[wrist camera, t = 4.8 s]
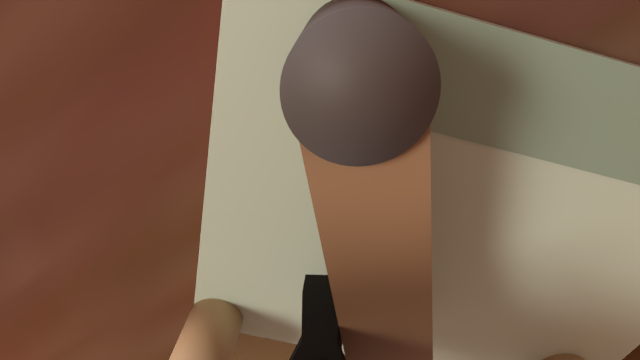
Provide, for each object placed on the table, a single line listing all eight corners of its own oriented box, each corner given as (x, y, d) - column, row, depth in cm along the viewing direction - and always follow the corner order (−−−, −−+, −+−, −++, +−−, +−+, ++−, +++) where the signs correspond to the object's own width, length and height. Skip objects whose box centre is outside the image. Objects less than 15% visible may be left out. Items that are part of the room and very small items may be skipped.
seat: (556, 378, 18) (609, 481, 14) (199, 304, 17) (159, 398, 13) (832, 120, 11) (1077, 199, 7) (236, -51, 9) (169, -61, 6)
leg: (288, 5, 9) (262, 24, 6) (408, -17, 8) (441, -7, 5) (350, 328, 14) (351, 413, 12) (420, 324, 14) (439, 410, 11)
